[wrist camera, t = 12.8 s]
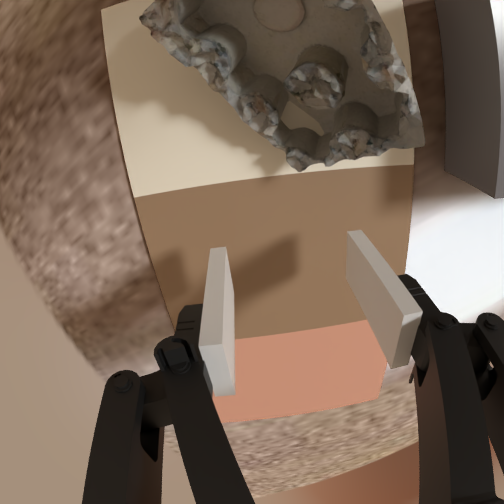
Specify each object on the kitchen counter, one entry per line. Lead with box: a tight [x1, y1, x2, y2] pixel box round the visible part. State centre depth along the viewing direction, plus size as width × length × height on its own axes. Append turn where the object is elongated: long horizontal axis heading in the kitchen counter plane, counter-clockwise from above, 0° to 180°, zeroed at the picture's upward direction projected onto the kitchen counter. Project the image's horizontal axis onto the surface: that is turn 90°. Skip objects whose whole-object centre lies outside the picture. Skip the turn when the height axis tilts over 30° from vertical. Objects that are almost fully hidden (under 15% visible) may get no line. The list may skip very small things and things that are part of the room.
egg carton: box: [139, 0, 425, 172], centre depth 11 cm, size 11×8×4 cm
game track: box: [101, 0, 414, 423], centre depth 19 cm, size 33×16×1 cm, turn 7°
